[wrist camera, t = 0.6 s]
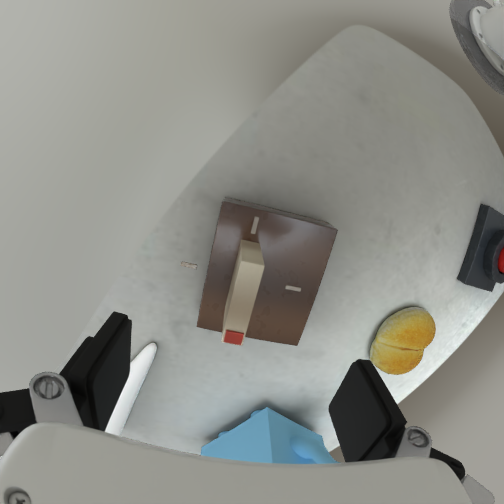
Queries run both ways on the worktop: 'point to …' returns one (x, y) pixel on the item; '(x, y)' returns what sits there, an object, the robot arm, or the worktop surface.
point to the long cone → (131, 389)
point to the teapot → (269, 442)
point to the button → (501, 261)
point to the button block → (484, 251)
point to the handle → (242, 292)
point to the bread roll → (402, 340)
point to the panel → (267, 268)
